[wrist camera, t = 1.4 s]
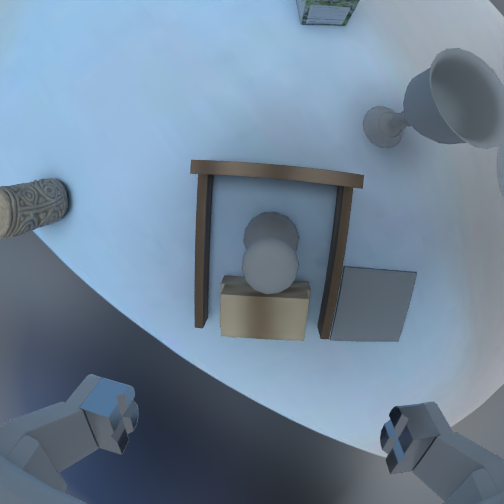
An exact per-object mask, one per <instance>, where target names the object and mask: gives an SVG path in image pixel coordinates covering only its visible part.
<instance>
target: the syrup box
mask: <svg viewBox="0 0 504 504" xmlns="http://www.w3.org/2000/svg"><path fill="white" fill-rule="evenodd" d="M296 1H297V6H298V11H299V17H300V22H301V24H326V25H346V24H347V22H348V20H349V19H350V17H351V15H352V13H353V11H354V10H355V8H356V6H357V4H358V2H359V1H360V0H296Z"/></svg>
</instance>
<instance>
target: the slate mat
mask: <svg viewBox="0 0 504 504" xmlns="http://www.w3.org/2000/svg"><path fill="white" fill-rule="evenodd" d="M416 276H417V273H416V272H407V271H395V270H383V269H370V268H358V267H346V266H344V270H343V276H342V282H341V287H340V293H339V298H338V303H337V308H336V313H335V318H334V323H333V328H332V333H331V337H330V340H335V341H380V342H396V341H399V338H400V335H401V332H402V328H403V325H404V322H405V318H406V315H407V311H408V308H409V304H410V300H411V296H412V292H413V288H414V284H415V280H416Z"/></svg>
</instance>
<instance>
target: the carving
mask: <svg viewBox="0 0 504 504" xmlns="http://www.w3.org/2000/svg"><path fill="white" fill-rule="evenodd" d="M67 204H68V201H67V193H66V190H65V187H64V186H63V184H62V183H61V182H60V181H58V180H56V179H40V180H39V181H37V180H35V181H34V182H30V183H22V184H17V185H12V186H2V187H0V238H1V239H4V238H5V239H8V238H10V237H12V236H13V237H14V236H19V235H22V234H25V233H27V232H29V231H31V230H34V229H36V228H38V227H43V226H45V225H49V224H52V223H55V222H57V221H59V220H60V219H61V218H62V217H63V215H64V214H65V212H66V210H67Z"/></svg>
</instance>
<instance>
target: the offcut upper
mask: <svg viewBox="0 0 504 504" xmlns="http://www.w3.org/2000/svg"><path fill="white" fill-rule="evenodd" d="M308 305H309V296H308V292H307V288H298V287H289V288H287V289H285V290H283V291H281V292H280V293H275V294H264V293H261V292H259V291H256V290H254V289H253V288H252V287H251V286H250V285H240V284H225V285H224V288H223V290H222V292H221V336H228V337H241V338H257V339H275V340H301V341H304V337H305V330H306V322H307V313H308Z"/></svg>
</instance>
